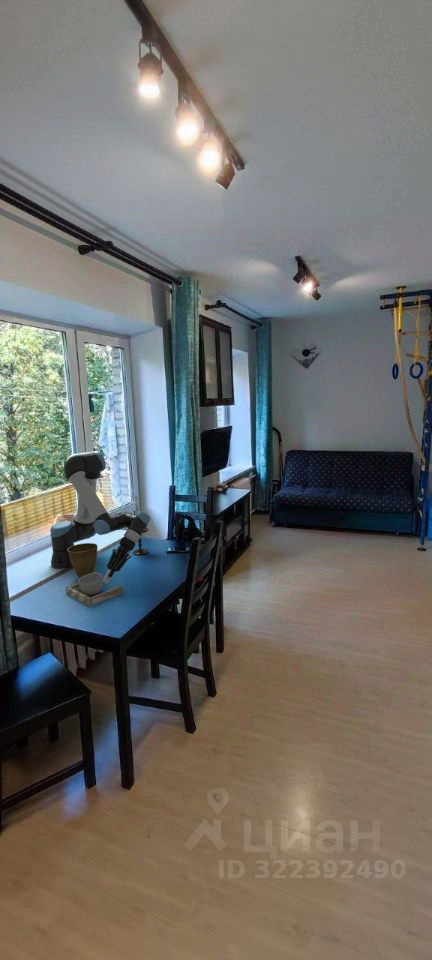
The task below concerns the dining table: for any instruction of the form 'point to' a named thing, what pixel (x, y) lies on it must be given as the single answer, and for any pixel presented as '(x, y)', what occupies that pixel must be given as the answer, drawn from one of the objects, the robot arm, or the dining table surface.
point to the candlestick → (140, 550)
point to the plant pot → (83, 558)
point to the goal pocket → (95, 599)
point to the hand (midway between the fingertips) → (104, 582)
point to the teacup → (91, 583)
